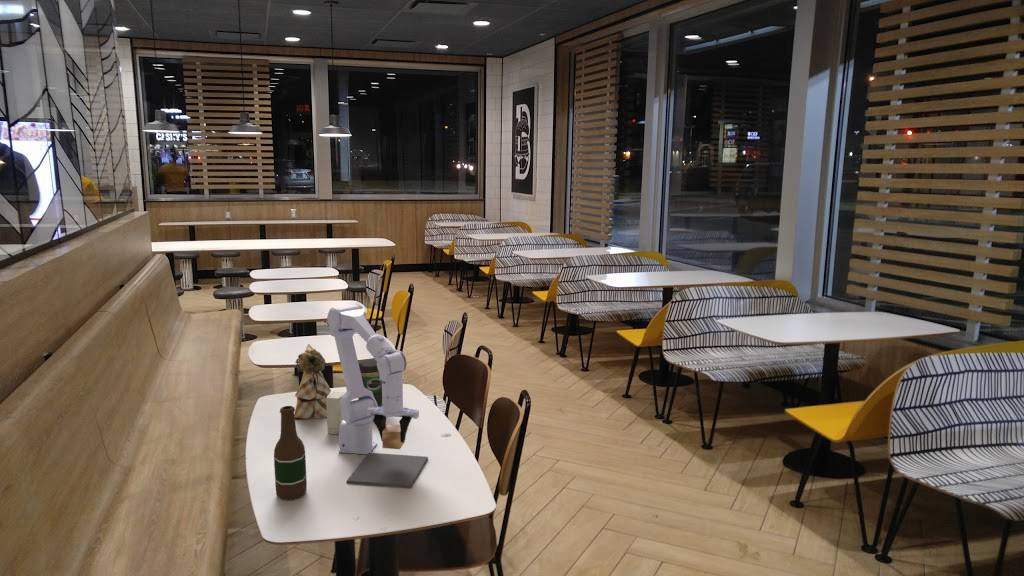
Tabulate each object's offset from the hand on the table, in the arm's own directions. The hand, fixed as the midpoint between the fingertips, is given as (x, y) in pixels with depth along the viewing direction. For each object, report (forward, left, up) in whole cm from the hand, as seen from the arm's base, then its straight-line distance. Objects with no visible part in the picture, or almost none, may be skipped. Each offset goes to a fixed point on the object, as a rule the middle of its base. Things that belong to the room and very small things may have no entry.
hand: (393, 440), depth 193 cm
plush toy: (-39, +36, -9) cm, 54 cm away
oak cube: (0, 0, -2) cm, 2 cm away
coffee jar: (-21, +42, -9) cm, 48 cm away
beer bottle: (-22, -19, -9) cm, 30 cm away
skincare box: (-26, +23, -9) cm, 36 cm away
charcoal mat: (-1, -2, -8) cm, 9 cm away
